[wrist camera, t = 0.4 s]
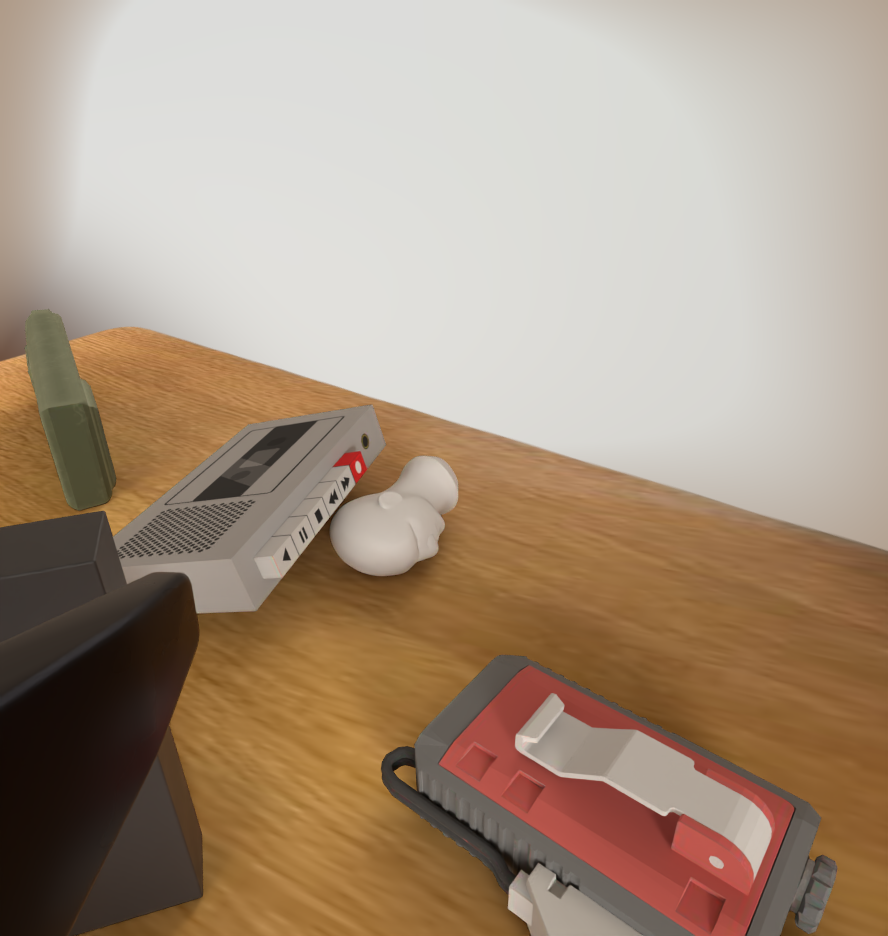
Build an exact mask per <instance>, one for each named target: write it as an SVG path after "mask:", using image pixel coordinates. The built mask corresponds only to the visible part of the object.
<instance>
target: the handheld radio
mask: <svg viewBox="0 0 888 936" xmlns="http://www.w3.org/2000/svg"><path fill="white" fill-rule="evenodd" d="M25 331H26V342H27V345H26V346H25V351H26V359H27V366H28V373H29V375H30V378H31V382H32V385H33V388H34V391H35V395H36V398H37V404H38V409H39V415H40V418H41V422H42V425H43V428H44V431H45V434H46V437H47V440H48V444H49V447H50V450H51V454H52V457H53V460H54V463H55V466H56V470H57V473H58V476H59V479H60V482H61V485H62V489H63V492H64V495H65V498H66V501H67V503H68V504H69V506H70V507H72V508H74V509H76V510H78V511H80V510H83V509H87V508H90V507H94V506H97V505H101V504H104V503H106V502H108V501H109V499H110V498H111V495H112V488H113V487H114V486H115V483H116V475H115V471H114V468H113V464H112V460H111V456H110V453H109V449H108V445H107V441H106V438H105V434H104V430H103V426H102V423H101V419H100V415H99V411H98V408H97V405H96V402H95V399H94V396H93V393H92V390H91V387H90V385H89V384H88V383H87V382H86V381H85V380H82V379H80V377H79V373H78V370H77V367H76V364H75V360H74V357H73V354H72V351H71V348H70V344H69V341H68V338H67V335H66V331H65V328H64V325H63V322H62V319H61V317H60V316H59V315H58V314H55V313H52V312H51V311H50V310H49V309H48V310H35V311H32V312H31V315H30V316H29V317H28V319H27V320H26V325H25Z"/></svg>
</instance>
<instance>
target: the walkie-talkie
mask: <svg viewBox="0 0 888 936" xmlns="http://www.w3.org/2000/svg"><path fill="white" fill-rule="evenodd" d="M414 745H415V748H412V747H408V746H406V747H398V748H397V749H395V750H393V751H392V752H390V753H388V754H387V755H386V756H385V758H384V759H383V761H382V765H381V771H382V780H383V783H384V785H385V786H386V787H387V789H388V790H389V792H390V793H391V794H392V796H394V797H395V798H397V799H398V800H399V801H401V802H402V803H403V804H405V805H406V806H407V807H409V808H410V809H412V810H413V811H414V812H416V813H417V814H418V815H420V818H421V819H425V820H427V821H428V822H429V823H430V825H431V826H432V827H434V828H437V829H439V830H440V831H442V832H443V835H445V836H446V837H450V838H451V839H452V840H454V841H455V842H456V844H457V845H458V846H460V847H463V848H465V849H466V850H467V851H469V852H470V853H469V854H470V855H472V856H473V857H477V858H478V859H480V860H481V861H482V862H483V864H484V865H485V866H487V867H488V868H489V869H490V870H491V871H492V872H493V873H494V875H495V878H496V880H497V882H498V884H499V886H500V887H501V888H502V889H503V890H504V891H505V892H506V893H507V895H509V901H508V909H509V910H510V911H512V912H513V913H514V914H516V915H517V916H518V917H520V918H521V919H522V920H523V921H525V922H526V923H527V926H528V928H529V931H530V934H531V936H780V934H781V931H782V928H783V926H784V923H785V920H786V917H787V914H788V912H789V911H790V910H791V911H793V912H794V913H796V916H795V923H796V926H797V927H798V928H800V929H802V930H803V931H805V932H807V933H808V934H810V933H813V932H815V931H816V929H817V927H818V925H819V922H820V920H821V918H822V915H823V912H824V909H825V906H826V903H827V901H828V898H829V895H830V893H831V890H832V888H833V884H834V881H835V878H836V873H837V866H836V863H835V861H833V860H832V859H830V858H828V857H826V856H824V855H821V856H818V857H817V858H816V860H815V862H814V861H812V860H811V859H809V852H810V849H811V846H812V844H813V841H814V838H815V835H816V832H817V829H818V826H819V823H820V820H821V817H820V816H819V815H818V813H817V812H816V811H815V810H814V809H813V807H812V806H811V805H810V804H809V803H808V802H806V801H804V800H802V799H800V798H798V797H796V796H794V795H792V794H790V793H789V792H787V791H785V790H783V789H781V788H779V787H777V786H775V785H773V784H771V783H769V782H767V781H765V780H763V779H762V778H760V777H758V776H756V775H754V774H752V773H750V772H748V771H746V770H744V769H742V768H740V767H738V766H736V765H735V764H733V763H731V762H729V761H727V760H725V759H723V758H721V757H719V756H717V755H715V754H713V753H711V752H709V751H707V750H706V749H704V748H702V747H700V746H698V745H696V744H694V743H692V742H690V741H688V740H686V739H684V738H682V737H680V736H679V735H677V734H675V733H670V732H668V731H666V730H664V729H662V727H661V726H659V725H654V724H652V723H650V722H648V721H647V719H646V718H644V717H639V716H637V715H635V714H633V713H632V711H630V710H626V709H624V708H622V707H620V706H618V704H617V703H615V702H610V701H608V700H606V699H604V697H603V696H601V695H597V694H595V693H593V692H591V690H590V689H588V688H583V687H581V686H579V685H577V683H576V682H574V681H570V680H568V679H566V678H564V676H563V675H558V674H556V673H554V672H552V670H551V669H549V668H545V667H543V666H541V665H539V663H538V662H533V661H531V660H529V659H527V657H526V656H513V655H499V656H497V657H496V658H494V659H493V660H492V661H491V662H490V663H489V664H488V665H487V666H486V667H485V668H484V669H483V670H482V671H481V672H480V673H479V674H478V675H477V676H476V677H475V678H474V679H473V680H472V681H471V682H470V683H469V684H468V685H467V686H466V687H465V688H464V689H463V690H462V691H461V692H460V693H459V694H458V695H457V696H456V697H455V698H454V699H453V700H452V701H451V702H450V703H449V704H448V705H447V706H446V708H445V709H444V710H443V711H442V712H441V713H440V714H439V715H438V716H437V717H436V718H435V719H434V720H433V721H432V722H431V723H430V724H429V725H428V726H427V727H426V728H425V729H424V730H423V731H422V733H421V734H420V736H419V737H418V739H417V741H416V743H415V744H414ZM404 765H407V766H411V767H414V768H416V783H417V791H416V790H414V789H413V788H412V787H410V786H409V785H407V784H406V783H405V782H403V781H402V780H400V779H399V778H398V777H397V776H396V774H395V773H394V772H393V771H394V770H396V769H397V768H399V767H401V766H404Z"/></svg>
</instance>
